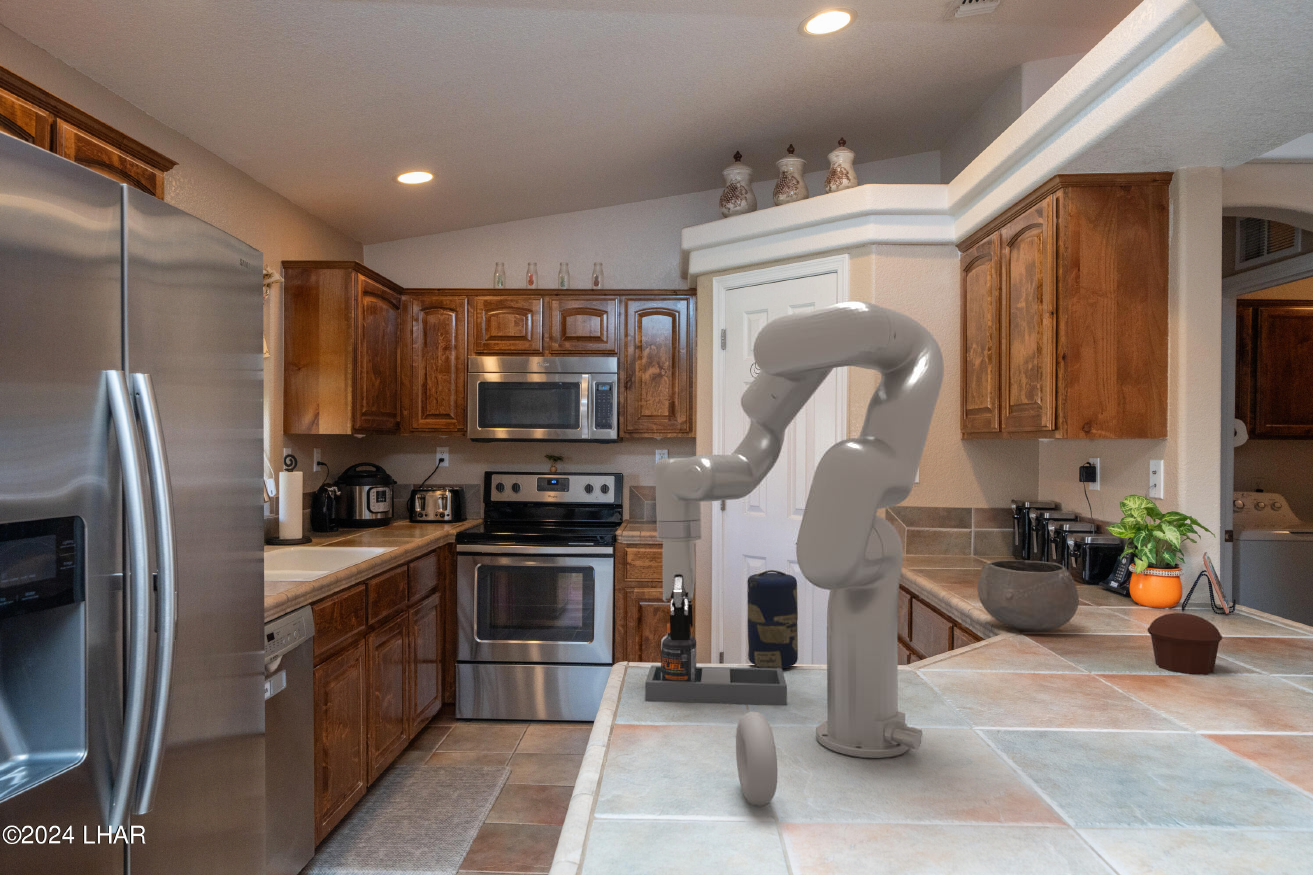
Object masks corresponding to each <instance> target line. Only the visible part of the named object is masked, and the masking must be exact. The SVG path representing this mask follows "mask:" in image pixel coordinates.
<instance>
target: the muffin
mask: <svg viewBox="0 0 1313 875" xmlns="http://www.w3.org/2000/svg"><path fill="white" fill-rule="evenodd" d="M1147 633H1148V635H1150V637H1151V644H1152V648H1153V653H1154V654H1153V655H1154V660H1155V665H1157V667H1158V668H1159V669H1162V670H1166V671H1168V672H1171V673H1179V674H1185V675H1188V676H1189V675H1193V676H1195V675H1196V676H1207V675H1210V674H1214V671H1215V667H1216V661H1217V655H1218V650H1219V644H1220V642H1221V641H1222V640H1223V635H1222V634H1221V632H1220V630H1219V629H1218V627H1216V626H1215V625H1214V624H1213V623H1212V622H1210V621H1209V620H1208V619H1205V618H1204V617H1202V616H1199V615H1195V614H1191V613H1184V612H1171V613H1166V614H1163V615H1161V616H1159V617H1156V618H1155V619H1154V620H1153V621H1152V622H1151V623H1150V625H1149V626H1148V628H1147Z"/></svg>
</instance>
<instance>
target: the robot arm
mask: <svg viewBox="0 0 1313 875" xmlns="http://www.w3.org/2000/svg"><path fill="white" fill-rule="evenodd" d="M753 343H754V344H753V349H752V351H753V353H752V354H753V359H754V362H755V364H756V366H757V367H758V368H759V369H760V371H759V372H758V373H757V375H756V376H755V378H754V379H753V380H752V381H751V383H750V384H749V385H748V386H747V388H746V390H745V391H744V392H743V393H742V395H741V398H740V405H741V408H742V410H743V412H744V414H746V416H747V417H748V419H750V425H749V428H748V431H747V433H746V434H745V436H744V437H743V439H742V441H741V442H740V443H739V444H738V446H737V447H736V448H735V450H733V452H732V453H731V454H702V455H695V456H690V457H675V458H674V457H672V458H671V457H669V458H663V459H660V460H658V461H657V462H656V464H655V466H654V467H655V468H654V470H655V471H654V475H655V506H656V507H655V509H656V510H655V511H656V514H655V515H656V541H658V542H662V601H664V602H668V599H670V615H669V623H670V638H671V640H690V635H691V633H690V625H691V629H692V628H693V627H694V622H693V621H694V619H693V604H692V600H693V597H694V593H695V592H694V591H695V581H696V580H695V579H696V555H695V553H696V551H695V550H696V549H695V546H696V545H695V541H700V540H702V517H701V516H702V513H701V512H702V510H701V503H704V502H706V503H708V502H718V501H731V500H741V499H742V498H745V497H747V496H748V495H750V494H751V493H752V492H753V491H754V490H756V489H757V487H758V486H759V485H760V484H761V483H762V481H763V480H764V479H765V478H766V477H767V475H768V474H769V473H770V472H771V471H772V469H773V468H774V467H775V465H776V463H777V461H778V459H780V458H779V457H780V454H781V452H782V449H783V445H784V441H785V434H786V430H787V428H788V427H789V425H790V424H791V423H792V422H793V420H795V418H796V417H797V415H799V413H800V412H801V410H802V409H803V408H804V407H805V405H806V404H807V403H808V401H809V400H810V399H811V398H812V396H813V395H814V394H816V392H817V390H819V388H820V387H821V385H822V384H823V383H824V382H825V380H826V379H827V378H828V377H829V375H830V374H831V373H832V371H833V370H834V369H837V368H843V367H856V368H860V369H866V370H872V371H876V372H878V373H879V374H880V376H881V377H880V382H879V383H878V385H877V387H875V388H876V389H875V390H874V392H873V393H872V395H871V398H870V399H869V402H868V404H867V408H866V412H865V417H864V420H863V424H862V428H861V429H860V433H859V435H858V437H850V438H845V439H842V440H841V441H838V442H836V443H834V444H833V445H832V446H830V448H828V450H826V451H825V452H824V454H823V455H822V457H821V458H820V460H819V462H818V464H817V466H816V468H815V471H814V474H813V478H812V482H811V484H810V488H809V492H808V496H807V500H806V503H805V507H804V511H803V515H802V518H801V522H800V526H799V529H798V534H797V538H796V546H795V548H796V549H795V551H796V552H795V553H796V561H797V565H798V568H799V569H800V572H801V573H802V575H803V577H804V578H805V579H806V580H807V581H808V582H809V583H810V584H811V585H813V586H816V587H817V588H819V589H822V590H827V591H829V594H828V600H827V611H826V677H827V678H826V681H827V682H826V690H827V691H826V694H827V695H826V699H827V700H826V701H827V702H826V707H827V710H826V711H827V712H826V714H827V715H826V716H827V717H826V718H827V720H825V721H823V722H821V723H820V724H818V725H817V727H816V730H815V736H816V740H817V742H818V743H820V744H821V745H822V746H823V747H825V748H827V749H829V750H831V751H834V752H836V753H840V754H842V755H847V756H852V757H858V758H868V759H875V758H876V759H880V758H881V759H883V758H891V757H896V756H898V755H899V756H900V755H902V754H904V753H906V752H907V751H908V750H909V749H910V748H911V749H914V750H919V749H920V747H921V745H922V742H923V740H922V737H923V730H922V729H921V728H917V727H913V726H909V725H908V724H907V723H906V713H905V712H902V711H899V693H898V692H899V688H898V687H899V686H898V684H899V680H898V679H899V678H898V676H899V674H898V672H899V670H898V666H899V663H898V661H899V660H898V631H899V629H898V628H899V627H898V626H899V624H898V623H899V622H898V621H899V620H898V619H899V615H898V611H899V610H898V609H899V591H900V583H901V576H902V568H903V562H904V561H903V560H904V552H903V543H902V539H901V537H900V534H899V532H898V531H897V529H896V528H895V527H894V525H893V524H892V523H891V522H890V521H888V520H887V519H885V518H884V517H882V516H880V515H877V513H878V510H879V509H880V510H882V509H887V508H891V507H892V508H893V507H895V506H898V505H900V504H901V503H903V502H904V501H906V499H907V498H908V497H909V496H910V494H911V492H912V490H914V487H915V482H916V478H917V474H918V471H919V468H920V464H921V460H922V456H923V453H924V449H925V446H926V442H927V439H928V435H929V431H930V427H931V423H932V420H933V419H932V418H933V417H934V416H933V415H934V412H935V409H936V407H937V406H936V405H937V402H938V400H939V396H940V393H941V390H942V385H943V381H944V372H945V365H944V358H943V353H942V350H941V347H940V345H939V343H938V342H937V340H936V338H935V336H934V335H933V334H931V332H930V331H929V330H928V328H926V327H925V326H923V325H922V324H921V323H920V322H918V321H916V320H915V319H914V318H912V317H910V316H908V315H906V314H904V313H901V312H899V311H896V310H894V309H890V308H887V307H883V306H880V305H877V304H874V303H871V302H869V301H868V302H867V301H864V300H863V301H861V300H859V301H858V300H849V301H843V302H837V303H832V304H829V305H825V306H820V307H817V308H813V309H808V310H807V309H806V310H803V311H799V312H795V313H791V314H786V315H782V316H780V317H776V318H775V319H773V320H771V321H769V322H768V323H767V324H765V326H763V327H762V328H761V330H759V332H758V334H757V335H756V338H755V340H754V342H753Z"/></svg>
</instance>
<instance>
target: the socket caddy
mask: <svg viewBox="0 0 1313 875" xmlns="http://www.w3.org/2000/svg"><path fill="white" fill-rule="evenodd" d="M646 676H647V677H646V679H645V682H644V683H645V684H644V685H645V687H644V688H645V690H644V691H645V693H644V695H645V697H644V701H646V702H672V703H673V702H676V703H677V702H678V703H704V704H705V703H707V704H708V703H710V704H711V703H712V704H737V705H738V704H739V705H740V704H741V705H743V704H744V705H775V706H787V705H788V685H787V682H786V678H785V675H784V671H783V668H779V669H775V668H764V667H728V666H727V667H724V666H697V665H696V682H688V681H661V665H657V664H655V665H654V664H653V665H650V667H649V671H648V673H647V675H646Z"/></svg>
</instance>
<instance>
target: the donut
mask: <svg viewBox="0 0 1313 875" xmlns="http://www.w3.org/2000/svg"><path fill="white" fill-rule="evenodd" d="M735 752H736V753H735V754H736V756H735V757H736V764H737V765H736V767H737V774H738V780H739V784H740V787H741V788H740V789H741V790H742V793H743V795H744V796H745V798H746V800H747V802H749V803H750V804H752V805H754V806H759V807H760V806H765V805H767V804H769V803H771V802H772V800H773V798H774V796H775V794H776V792H777V785H778V759H777V758H778V757H777V748H776V743H775V737H774V734H773V730H772V726H771V725H770V723H769V720H767V718H766V717H765V716H764V715H763V714H761V713H760V712H757V711H749V712H747V713H744V714H743V715H742V716H741V717H740V719H739V720H738V722H737V727H736V733H735Z"/></svg>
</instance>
